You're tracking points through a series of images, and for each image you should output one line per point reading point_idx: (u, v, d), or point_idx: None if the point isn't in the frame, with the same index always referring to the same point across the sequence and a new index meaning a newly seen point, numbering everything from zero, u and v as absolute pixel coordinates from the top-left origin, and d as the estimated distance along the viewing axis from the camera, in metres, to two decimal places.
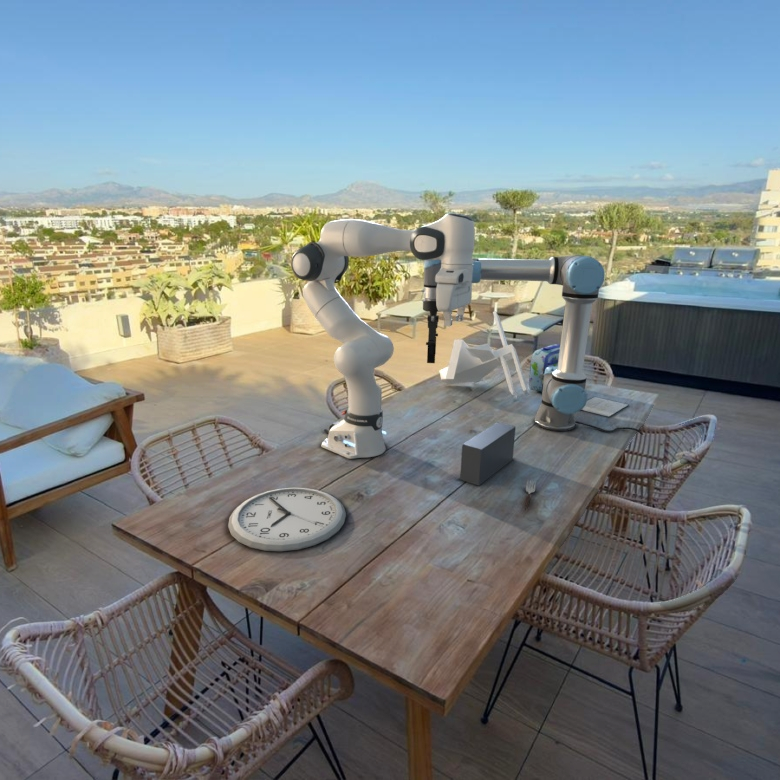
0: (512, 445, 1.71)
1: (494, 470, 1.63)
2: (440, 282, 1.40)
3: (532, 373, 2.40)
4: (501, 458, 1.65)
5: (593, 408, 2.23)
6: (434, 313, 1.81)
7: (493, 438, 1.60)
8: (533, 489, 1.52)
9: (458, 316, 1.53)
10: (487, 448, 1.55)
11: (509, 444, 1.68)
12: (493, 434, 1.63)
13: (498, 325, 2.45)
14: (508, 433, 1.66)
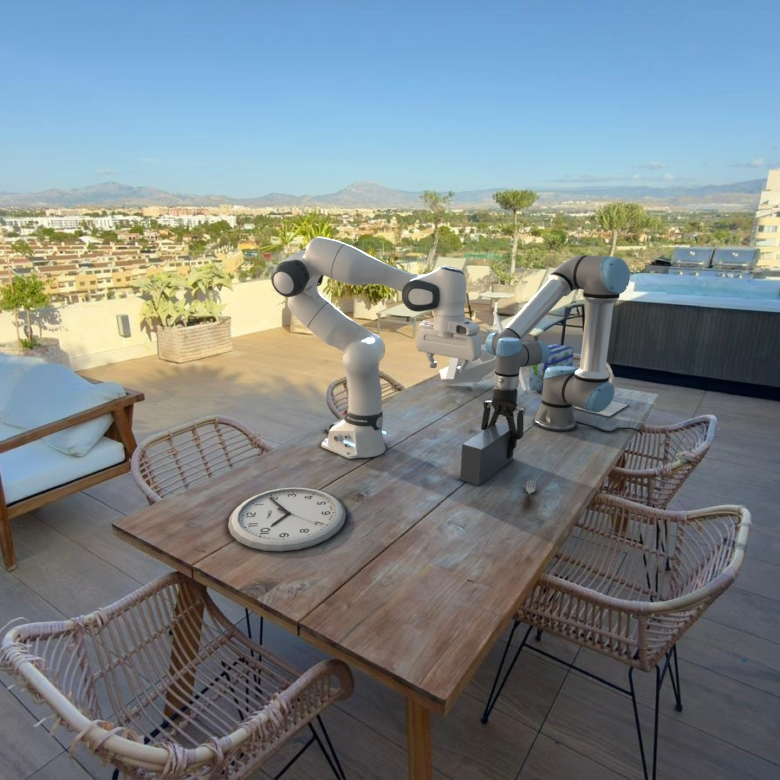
0: None
1: (494, 470, 1.63)
2: (471, 334, 1.46)
3: (532, 373, 2.40)
4: (501, 458, 1.65)
5: None
6: None
7: (493, 438, 1.60)
8: (533, 489, 1.52)
9: (435, 363, 1.57)
10: (487, 448, 1.55)
11: None
12: (493, 434, 1.63)
13: (498, 325, 2.45)
14: (508, 433, 1.66)
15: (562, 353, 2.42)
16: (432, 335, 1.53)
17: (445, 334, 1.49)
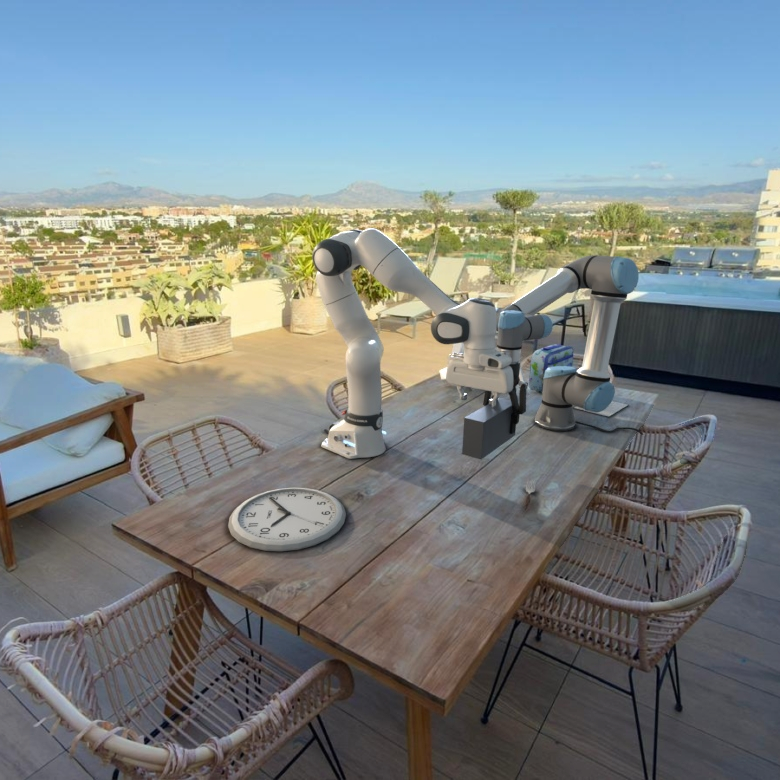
0: None
1: (496, 445, 1.60)
2: (503, 367, 1.43)
3: (532, 373, 2.40)
4: (503, 433, 1.63)
5: None
6: (518, 376, 1.62)
7: (495, 412, 1.57)
8: (533, 489, 1.52)
9: (465, 395, 1.54)
10: (490, 421, 1.53)
11: None
12: (495, 408, 1.61)
13: None
14: (511, 408, 1.64)
15: (562, 353, 2.42)
16: (462, 367, 1.51)
17: (476, 367, 1.46)
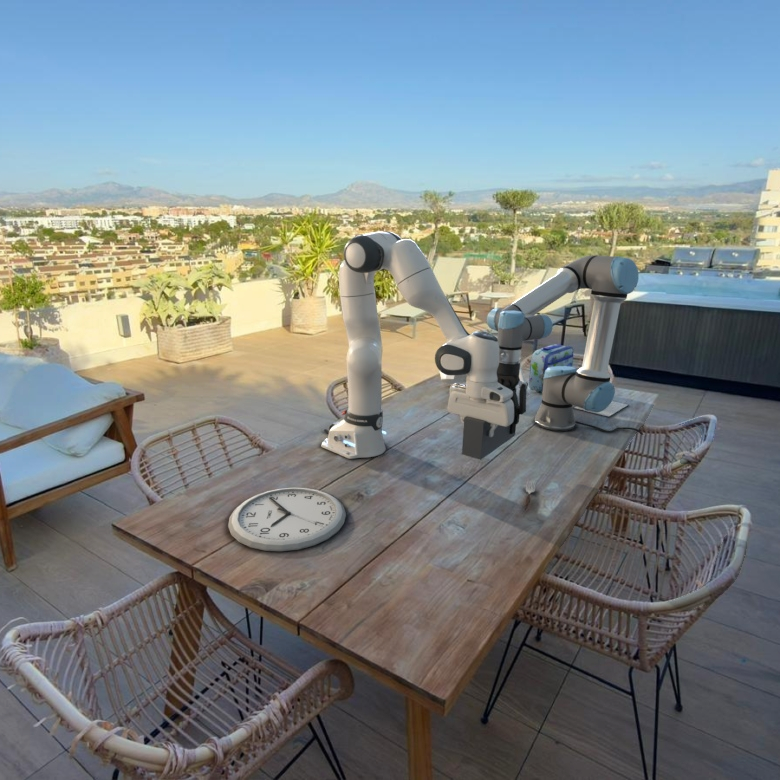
0: None
1: (496, 445, 1.60)
2: (505, 401, 1.45)
3: (532, 373, 2.40)
4: (503, 433, 1.63)
5: None
6: (518, 376, 1.62)
7: None
8: (533, 489, 1.52)
9: None
10: None
11: None
12: None
13: None
14: None
15: (562, 353, 2.42)
16: (464, 398, 1.53)
17: (478, 399, 1.49)
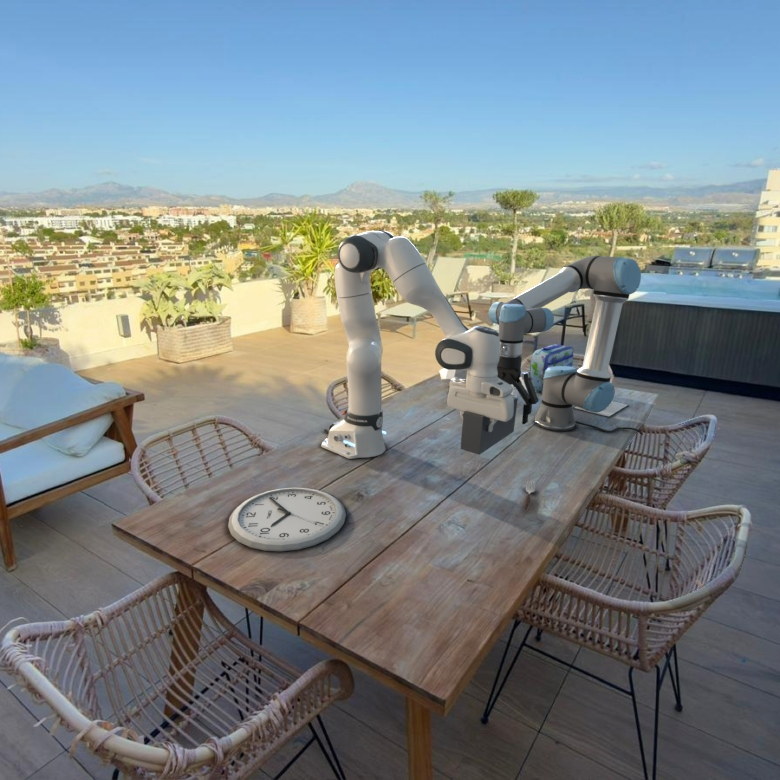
0: (513, 417, 1.68)
1: (495, 441, 1.60)
2: (505, 396, 1.45)
3: (532, 373, 2.40)
4: (502, 429, 1.62)
5: None
6: (520, 369, 1.62)
7: None
8: (533, 489, 1.52)
9: None
10: None
11: None
12: None
13: (498, 325, 2.45)
14: None
15: (562, 353, 2.42)
16: (464, 393, 1.53)
17: (478, 394, 1.49)
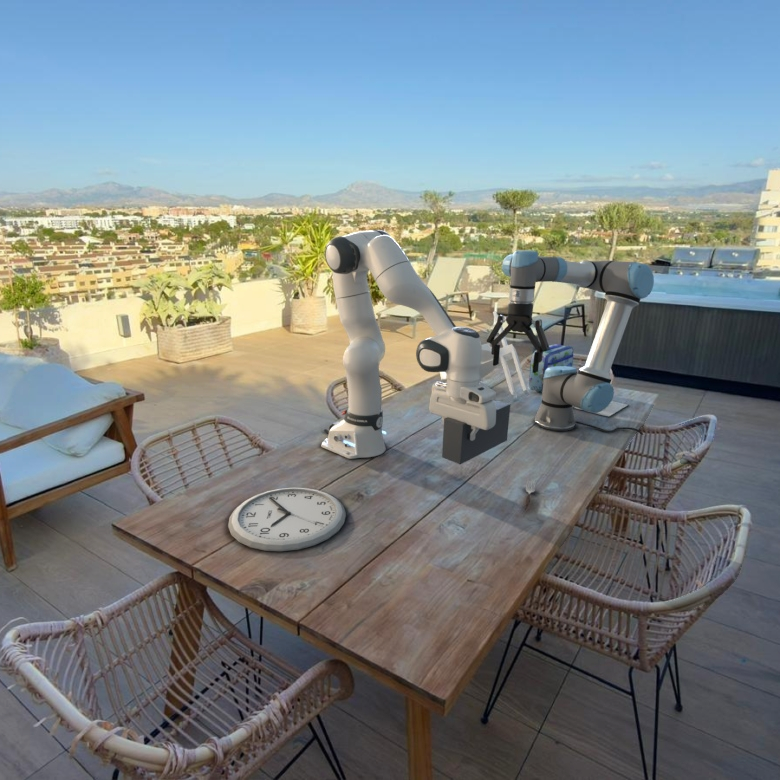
0: (506, 425, 1.57)
1: (481, 450, 1.49)
2: (485, 402, 1.35)
3: (532, 373, 2.40)
4: (490, 437, 1.52)
5: None
6: (531, 317, 1.61)
7: None
8: (533, 489, 1.52)
9: None
10: None
11: (502, 423, 1.55)
12: None
13: None
14: (500, 411, 1.52)
15: (562, 353, 2.42)
16: (445, 398, 1.44)
17: (457, 399, 1.39)
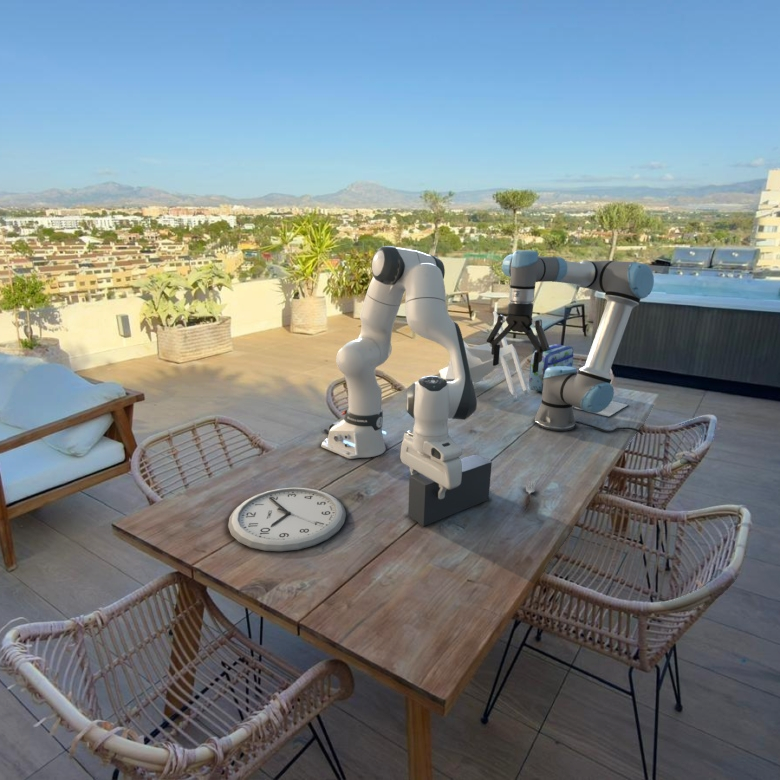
0: (487, 483, 1.45)
1: (453, 510, 1.39)
2: (447, 460, 1.25)
3: (532, 373, 2.40)
4: (465, 497, 1.41)
5: None
6: (531, 317, 1.61)
7: None
8: (533, 489, 1.52)
9: None
10: (437, 484, 1.33)
11: (480, 481, 1.43)
12: None
13: None
14: (477, 469, 1.41)
15: (562, 353, 2.42)
16: (413, 450, 1.35)
17: (422, 453, 1.30)
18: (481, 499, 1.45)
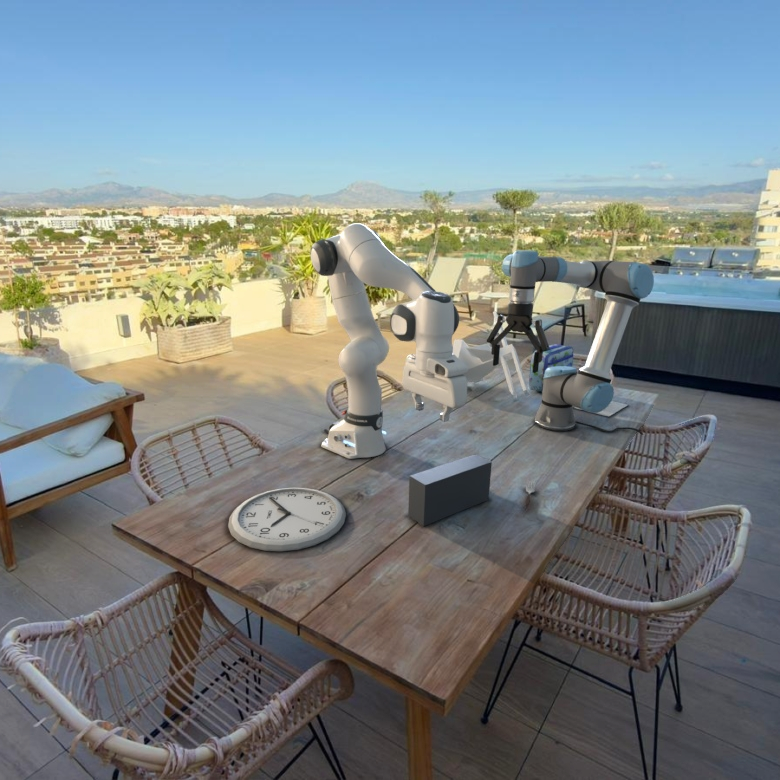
0: (487, 483, 1.45)
1: (453, 510, 1.39)
2: (452, 376, 1.19)
3: (532, 373, 2.40)
4: (465, 497, 1.41)
5: None
6: (531, 317, 1.61)
7: (451, 473, 1.36)
8: (533, 489, 1.52)
9: (421, 405, 1.32)
10: (437, 484, 1.33)
11: (480, 481, 1.43)
12: (456, 468, 1.40)
13: None
14: (477, 469, 1.41)
15: (562, 353, 2.42)
16: (416, 372, 1.29)
17: (425, 373, 1.24)
18: (481, 499, 1.45)
